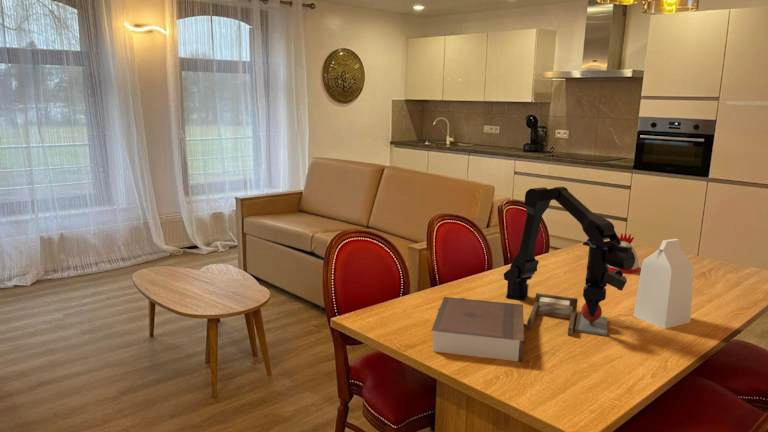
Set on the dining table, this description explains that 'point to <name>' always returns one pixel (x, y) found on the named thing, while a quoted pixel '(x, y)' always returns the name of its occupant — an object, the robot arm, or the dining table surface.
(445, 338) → the book
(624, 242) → the knit hat
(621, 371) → the dining table surface
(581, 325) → the slate board
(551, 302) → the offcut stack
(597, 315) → the onion
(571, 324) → the rack
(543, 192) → the robot arm
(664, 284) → the milk
